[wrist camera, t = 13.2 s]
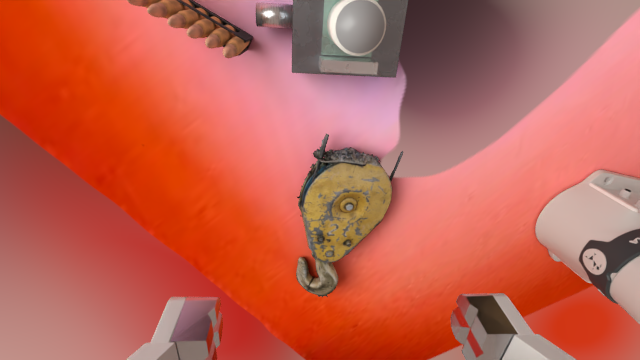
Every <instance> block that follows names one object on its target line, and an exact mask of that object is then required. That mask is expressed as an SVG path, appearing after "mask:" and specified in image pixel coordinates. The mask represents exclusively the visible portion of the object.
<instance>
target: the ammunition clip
mask: <svg viewBox="0 0 640 360" xmlns="http://www.w3.org/2000/svg"><path fill="white" fill-rule="evenodd" d="M127 1H128V2H129V3H130V4H132V5H135V6H143V7H147V8H148V9H147V11H148V13H149V14H150V15H152V16H154V17H164V18H169V19H168V24H169V25H170V26H171V27H173V28H185V29H186V28H188V30H187V35H188V36H189V37H191V38H205V37H207V38H206V40H205V45H206V46H207V47H208V48H216V47H222V46H223V47H224V49H223V55H224V56H225V57H226V58H232V57H233V56H237V55H241V54H242V53H244V52H245V51H247V49H248V47H249V45H250V43H251V41H252V39H253V37H252V36H251V35H250V34H248V33H246V32H245V31H243V30H241V29H240V28H238V27H236V26H235V25H233V24H231V23H230V22H228V21H226V20H225V19H223V18H221V17H220V16H218V15H216V14H215V13H213V12H211V11H210V10H208V9H206V8H205V7H203V6H201V5H200V4H198V3H196V2H195V1H193V0H127Z"/></svg>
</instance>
